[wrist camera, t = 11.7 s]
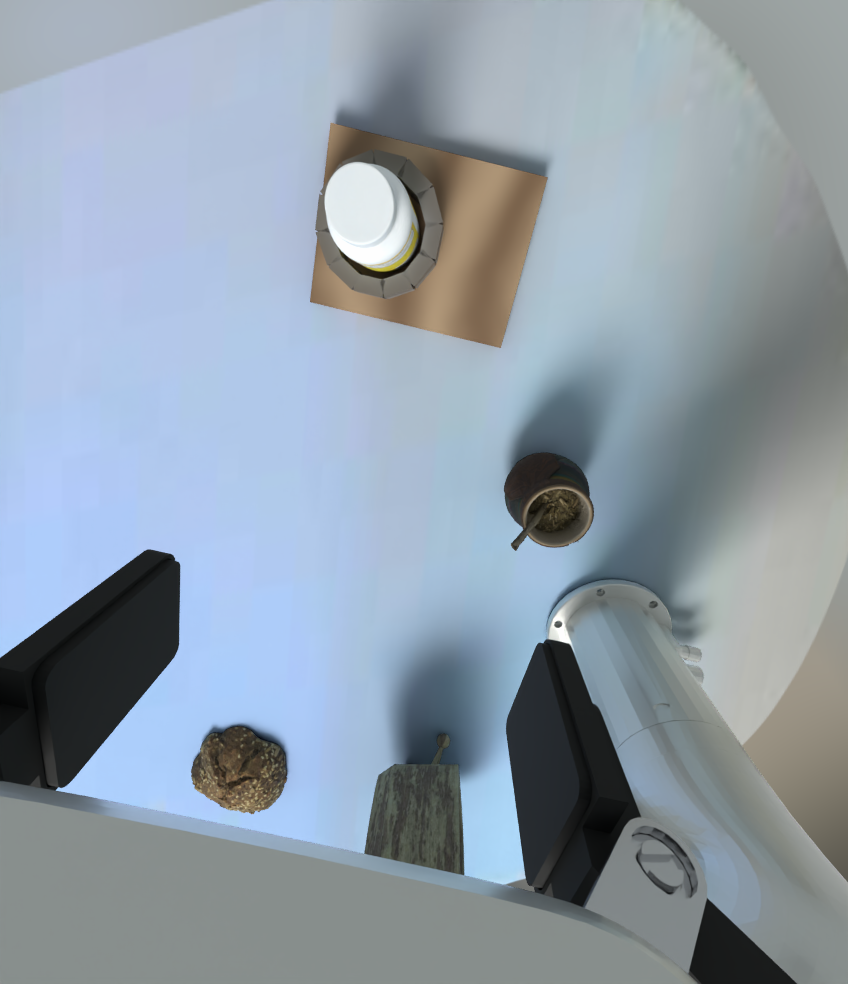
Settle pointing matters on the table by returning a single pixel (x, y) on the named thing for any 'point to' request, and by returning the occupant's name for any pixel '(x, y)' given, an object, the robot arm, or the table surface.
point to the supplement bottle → (371, 217)
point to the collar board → (435, 240)
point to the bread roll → (240, 770)
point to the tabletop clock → (419, 815)
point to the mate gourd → (549, 500)
